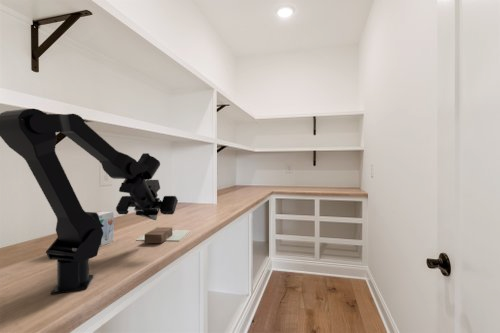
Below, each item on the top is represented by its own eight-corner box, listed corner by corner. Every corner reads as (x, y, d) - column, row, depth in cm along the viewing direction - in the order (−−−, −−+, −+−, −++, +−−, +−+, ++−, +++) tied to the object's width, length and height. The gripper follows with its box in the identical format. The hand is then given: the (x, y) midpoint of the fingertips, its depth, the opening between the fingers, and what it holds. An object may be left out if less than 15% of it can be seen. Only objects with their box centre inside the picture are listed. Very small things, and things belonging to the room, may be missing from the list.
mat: (179, 241, 88) (179, 240, 88) (135, 240, 88) (135, 239, 88) (191, 231, 102) (191, 230, 102) (153, 230, 102) (153, 230, 102)
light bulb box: (89, 251, 78) (89, 217, 78) (72, 249, 79) (71, 216, 79) (114, 241, 88) (114, 211, 88) (98, 240, 90) (98, 210, 90)
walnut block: (161, 234, 84) (172, 227, 94) (144, 234, 85) (157, 227, 95) (161, 243, 84) (172, 235, 94) (144, 243, 85) (157, 235, 95)
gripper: (175, 171, 81) (186, 200, 92) (120, 172, 82) (138, 200, 93) (166, 198, 73) (179, 226, 84) (105, 198, 74) (126, 226, 85)
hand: (155, 218), depth 86 cm, fingers closed
